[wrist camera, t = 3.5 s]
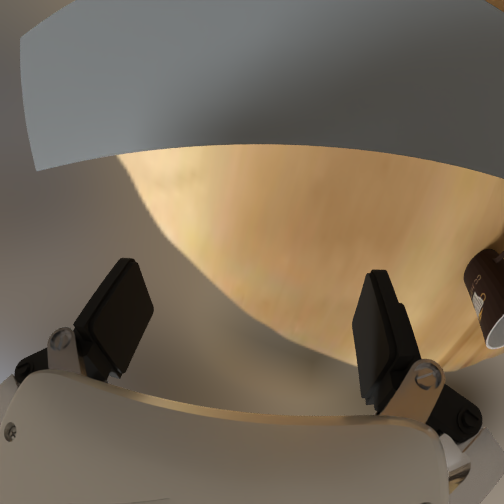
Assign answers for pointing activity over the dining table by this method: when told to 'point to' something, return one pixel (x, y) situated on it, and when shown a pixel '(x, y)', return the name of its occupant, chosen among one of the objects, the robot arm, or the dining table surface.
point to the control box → (267, 78)
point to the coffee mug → (488, 294)
